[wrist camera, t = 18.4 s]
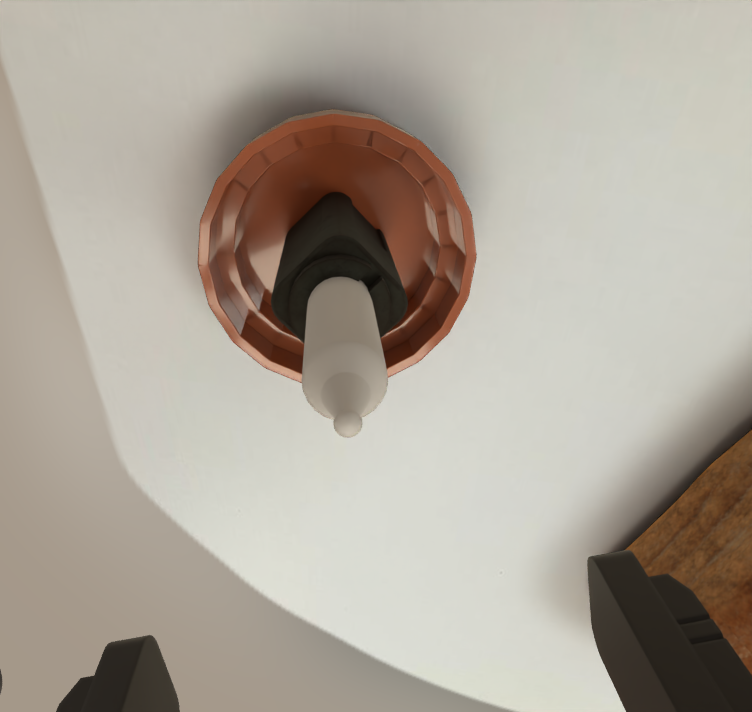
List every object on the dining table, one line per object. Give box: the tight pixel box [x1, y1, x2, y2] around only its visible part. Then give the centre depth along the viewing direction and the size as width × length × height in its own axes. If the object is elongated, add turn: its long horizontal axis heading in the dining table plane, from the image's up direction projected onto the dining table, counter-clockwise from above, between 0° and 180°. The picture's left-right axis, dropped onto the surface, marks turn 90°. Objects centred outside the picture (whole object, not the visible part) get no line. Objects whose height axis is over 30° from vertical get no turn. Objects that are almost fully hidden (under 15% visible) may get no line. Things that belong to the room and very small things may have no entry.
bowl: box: [198, 109, 477, 383], centre depth 42 cm, size 15×15×6 cm
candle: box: [271, 192, 408, 437], centre depth 32 cm, size 5×5×25 cm
